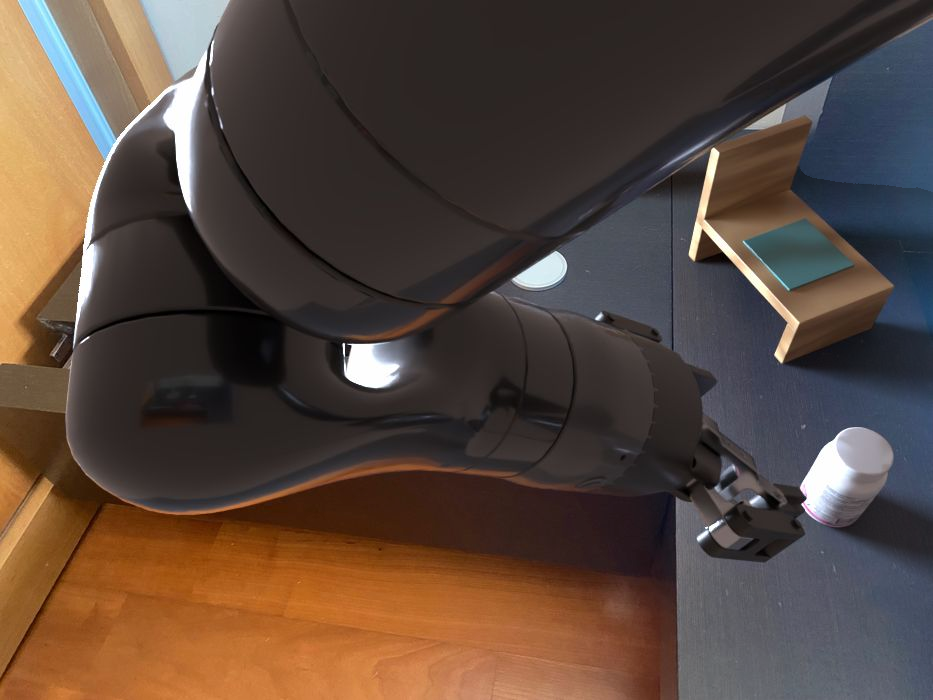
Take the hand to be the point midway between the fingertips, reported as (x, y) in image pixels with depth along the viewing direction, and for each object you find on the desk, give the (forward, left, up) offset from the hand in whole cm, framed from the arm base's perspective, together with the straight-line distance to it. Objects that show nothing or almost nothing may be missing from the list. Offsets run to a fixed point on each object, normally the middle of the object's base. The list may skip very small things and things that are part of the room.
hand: (743, 442), depth 42 cm
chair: (+21, -23, -18) cm, 36 cm away
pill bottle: (0, -13, -19) cm, 22 cm away
